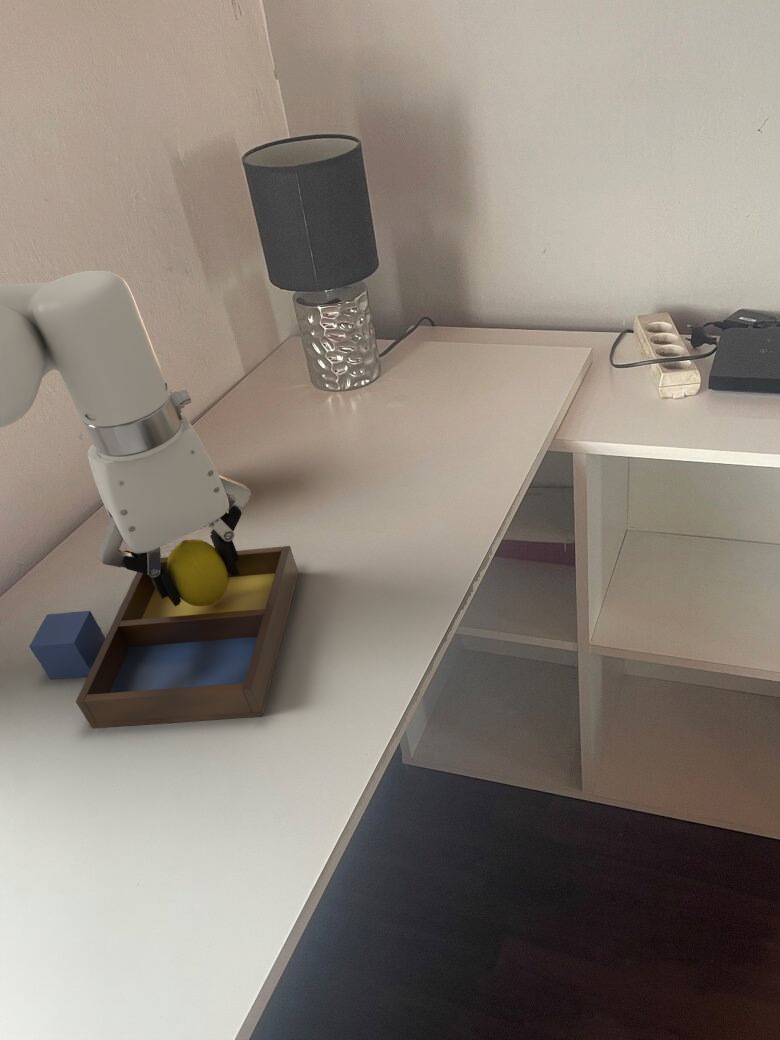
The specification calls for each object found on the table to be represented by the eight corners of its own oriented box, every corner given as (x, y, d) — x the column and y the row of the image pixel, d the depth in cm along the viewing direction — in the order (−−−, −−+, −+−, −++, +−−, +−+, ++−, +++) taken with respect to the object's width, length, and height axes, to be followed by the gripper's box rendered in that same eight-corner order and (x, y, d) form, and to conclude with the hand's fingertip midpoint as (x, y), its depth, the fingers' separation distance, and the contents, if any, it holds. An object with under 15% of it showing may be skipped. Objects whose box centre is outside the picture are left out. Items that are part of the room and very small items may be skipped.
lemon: (174, 606, 88) (145, 544, 83) (220, 579, 91) (195, 517, 85) (200, 630, 85) (172, 567, 80) (248, 601, 87) (223, 538, 82)
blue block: (49, 679, 84) (28, 646, 81) (66, 646, 87) (46, 614, 84) (93, 676, 83) (73, 642, 81) (108, 643, 87) (90, 610, 84)
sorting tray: (91, 728, 78) (75, 701, 76) (154, 585, 93) (142, 559, 91) (262, 716, 76) (251, 688, 74) (298, 572, 91) (290, 545, 89)
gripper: (208, 373, 80) (262, 530, 92) (24, 448, 74) (108, 605, 85) (242, 399, 75) (295, 562, 87) (48, 482, 69) (133, 644, 80)
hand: (201, 582), depth 86 cm, fingers closed on lemon, 5 cm apart
